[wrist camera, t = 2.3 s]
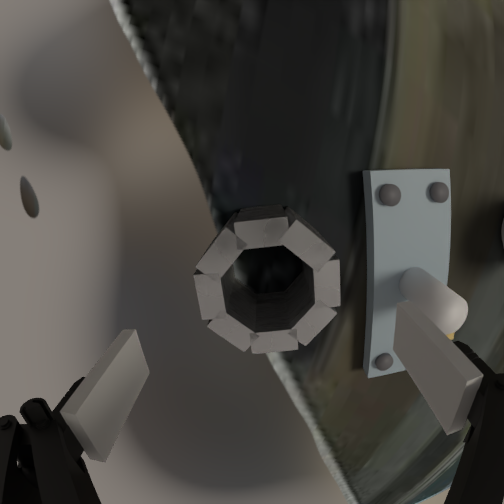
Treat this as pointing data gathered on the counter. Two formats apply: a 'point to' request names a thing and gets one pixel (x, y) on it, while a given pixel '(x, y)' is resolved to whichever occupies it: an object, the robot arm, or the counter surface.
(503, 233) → the soda can
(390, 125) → the counter surface
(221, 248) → the grey hollow octagonal piece
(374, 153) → the counter surface
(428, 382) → the robot arm
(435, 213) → the block
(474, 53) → the counter surface
